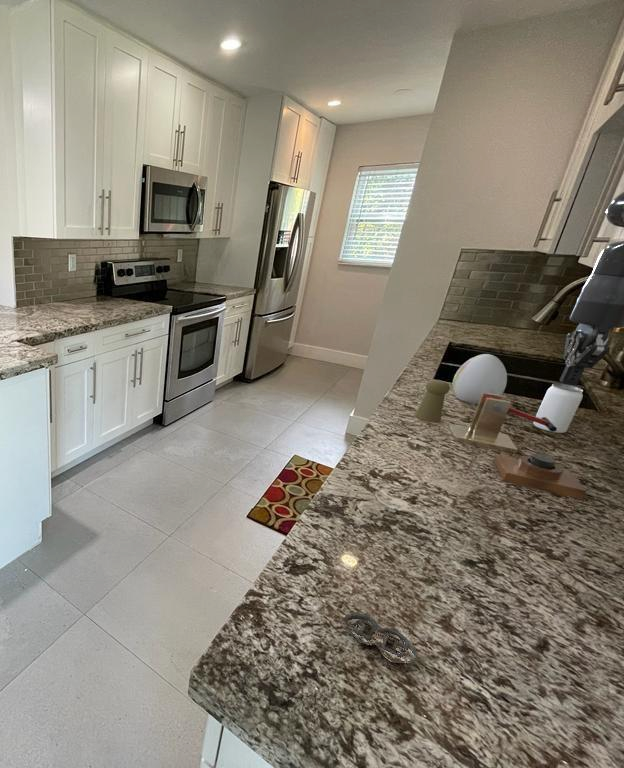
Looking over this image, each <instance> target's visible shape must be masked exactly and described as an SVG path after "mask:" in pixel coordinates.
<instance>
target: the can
mask: <svg viewBox="0 0 624 768" xmlns="http://www.w3.org/2000/svg"><path fill="white" fill-rule="evenodd" d="M583 392H584V390H583V389H582V388H580V387H579V386H578V387H577V386H575V385H574V386H573V385H566V384H563V383H552V384H551V386H550V387H549V388H548V389H547V390H546V393H545V395H544V397H543V399H542V401H541V403H540V406H539V407H538V410H537V413H536V415H535V417H538V418H542V417H546V418H547V419H548V420H549V421H550V422H551V423H552V424H553V425H554V426H555V427H556V428H557V430H556V431H550V430H549V429H548V428H547V427H546V426H545V425H542V424H539V423H537V422H534V421H532V422H533V426H534V427H535V428H537V429H539V430H542V431H545V432H549V433H554V434H564V433H567V431H568V429H569V427H570V426H571V423H572V421H573V419H574V417H575V414H576V413H577V410H578V408H579V406H580V404H581V402H582V400H583V396H584V395H583Z"/></svg>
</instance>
